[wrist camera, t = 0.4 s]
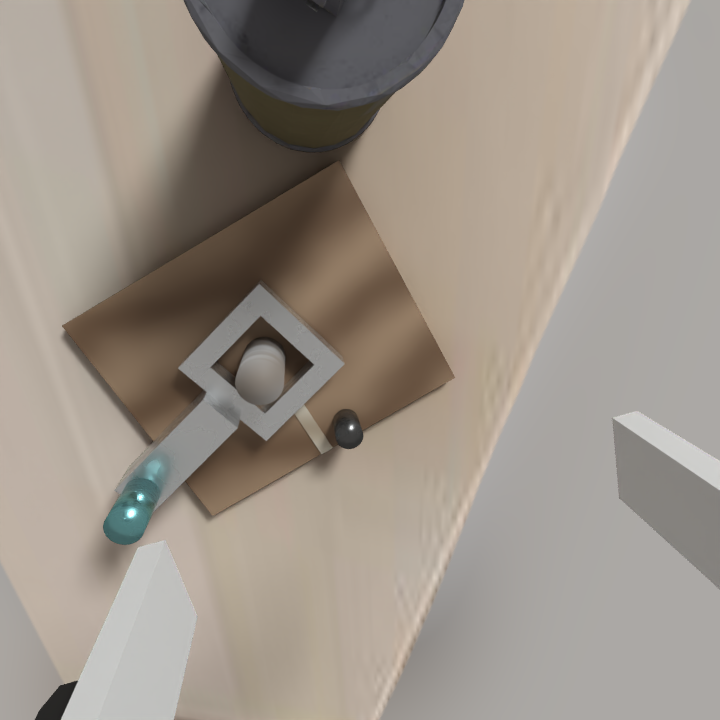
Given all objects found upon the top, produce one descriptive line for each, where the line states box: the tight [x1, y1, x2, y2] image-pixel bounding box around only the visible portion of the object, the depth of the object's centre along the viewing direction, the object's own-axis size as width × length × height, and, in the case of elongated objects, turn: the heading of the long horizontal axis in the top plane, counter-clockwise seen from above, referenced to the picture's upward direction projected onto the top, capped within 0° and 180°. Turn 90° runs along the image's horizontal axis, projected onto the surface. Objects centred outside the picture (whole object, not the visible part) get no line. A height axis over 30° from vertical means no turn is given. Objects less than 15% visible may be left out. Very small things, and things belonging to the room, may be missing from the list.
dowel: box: [333, 409, 363, 449], centre depth 39 cm, size 2×2×4 cm
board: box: [62, 161, 455, 516], centre depth 36 cm, size 18×22×7 cm
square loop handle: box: [103, 280, 345, 545], centre depth 35 cm, size 17×8×8 cm, turn 134°
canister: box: [184, 0, 464, 152], centre depth 24 cm, size 11×10×20 cm
